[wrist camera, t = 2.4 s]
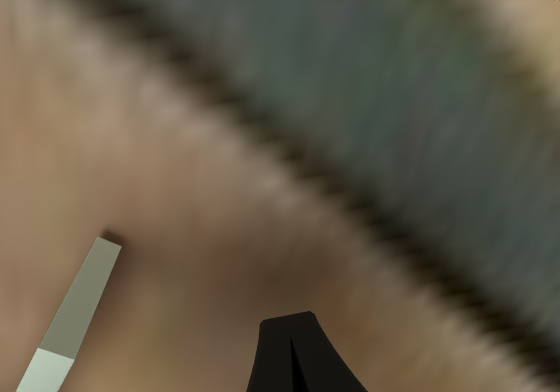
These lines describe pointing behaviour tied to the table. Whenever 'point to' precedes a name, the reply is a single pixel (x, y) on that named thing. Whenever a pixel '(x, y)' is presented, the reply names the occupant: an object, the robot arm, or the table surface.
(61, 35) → the table surface
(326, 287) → the table surface
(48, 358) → the door
